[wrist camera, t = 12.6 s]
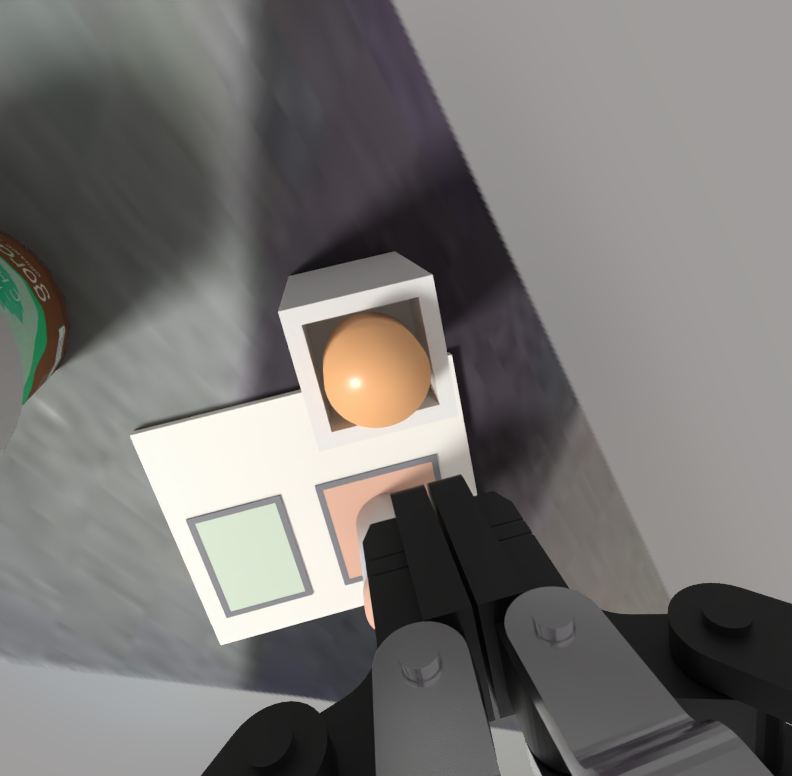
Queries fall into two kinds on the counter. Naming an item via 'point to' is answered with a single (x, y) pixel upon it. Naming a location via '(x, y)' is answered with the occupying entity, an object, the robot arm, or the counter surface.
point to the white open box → (349, 295)
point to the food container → (27, 330)
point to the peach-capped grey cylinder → (369, 514)
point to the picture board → (282, 505)
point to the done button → (375, 370)
